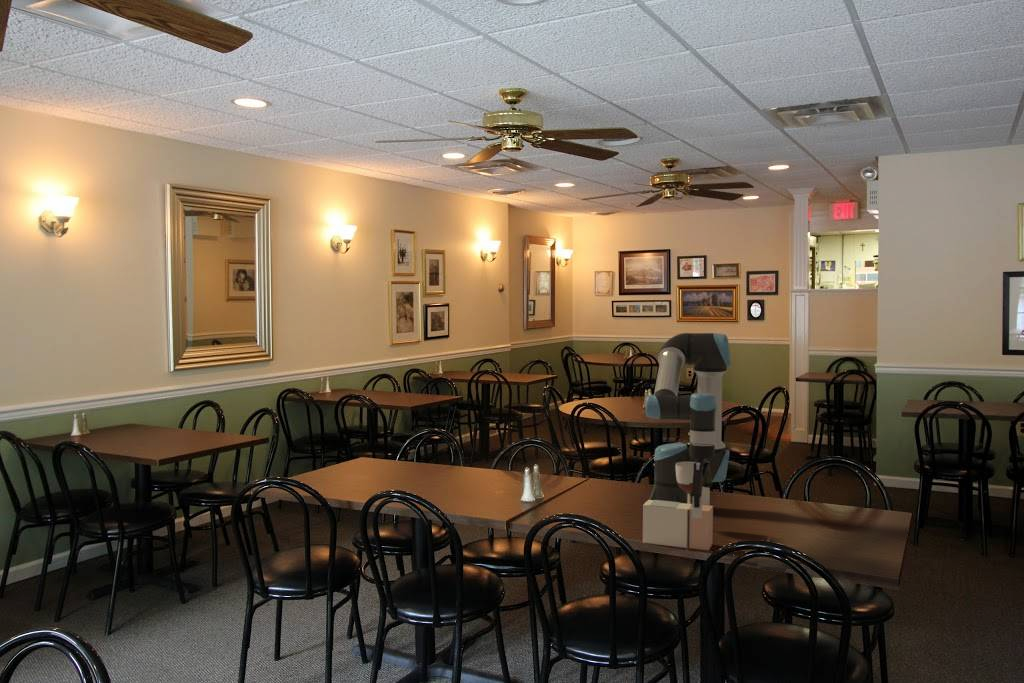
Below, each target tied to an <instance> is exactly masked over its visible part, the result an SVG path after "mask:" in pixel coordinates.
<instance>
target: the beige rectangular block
mask: <svg viewBox="0 0 1024 683" xmlns="http://www.w3.org/2000/svg"><path fill="white" fill-rule="evenodd" d="M692 504H693V503H691V504H686V503H680V502H671V501H661V500H649V499H648V500H647V501H645V503H643V505H642V543H643V544H652V545H661V546H667V547H668V546H669V547H676V548H684V549H687V548H688V547H689V509H690V508H691V506H692Z"/></svg>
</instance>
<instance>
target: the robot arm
mask: <svg viewBox="0 0 1024 683" xmlns="http://www.w3.org/2000/svg"><path fill="white" fill-rule="evenodd" d="M730 351H731V350H730V344H729V338H728V336H727V334H724V333H717V332H716V333H715V332H708V333H707V332H697V333H696V332H695V333H694V332H693V333H692V332H691V333H690V332H682V333H679V334H676V335H674V336H672V337H670V338H669V339H667V340H666V342H664V343H663V344H662V346H661V348H660V349H659V351H658V354H657V362H658V365H659V366H658V371H657V376H656V382H655V387H654V393H653V394H649V395H647V396H646V398H645V405H644V406H645V407H644V408H645V409H644V410H645V416H646V417H647V418H649V419H656V420H681V421H689V425H690V426H689V432H688V433H687V435H688V436H689V442H690V444H689V447H688V446H687V444H686V443H685V442H684V443H680V442H677V443H675V442H674V443H665V444H662V445H658V446H657V447H656V448H655V449H654V458H653V460H654V469H653V470H654V471H653V472H654V478H653V480H654V481H653V482H654V483H653V488H652V491H651V493H650V497H649V499H648V500H661V501H671V502H680V503H686V504H688V493H687V492H685V491H684V490H682V489H681V488H680V487H679V485H678V483H677V478H676V463H678V462H696V463H694V472H693V482H692V492H691V493H690V497H692V502H691V500H690V504H692V518H700V519H701V518H702V505H709V506H710V499H711V498H710V497H711V496H710V495H711V493H710V492H711V488H713V483H715V482H717V483H721V482H724V481H725V480H726V477H727V473H728V467H729V466H728V465H729V459H730V450H729V449H726V443H724V442H723V441H722V426H723V425H722V420H723V419H722V416H723V415H722V414H723V413H722V412H723V411H722V409H723V375H724V374H725V373H727V370H728V367H730V366H731V365H732V362H731V361H732V359H731V352H730ZM684 366H693V372H694V373H695V374H696V376H697V392H693V393H692V394H691V395H690V396H687V395H686V396H682V395H678V394H679V387H680V379H681V372H682V368H683V367H684Z"/></svg>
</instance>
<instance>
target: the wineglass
mask: <svg viewBox="0 0 1024 683" xmlns="http://www.w3.org/2000/svg"><path fill="white" fill-rule="evenodd" d="M694 463H696V462H678V463H676V478H677V483H678V485H679V487H680V488H681V489H682V490H684V491H685V492H687V493H688V504H690V501H691V496H690V493H691V492H692V482H693V472H694Z"/></svg>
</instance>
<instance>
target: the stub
mask: <svg viewBox="0 0 1024 683" xmlns="http://www.w3.org/2000/svg"><path fill="white" fill-rule="evenodd" d="M713 518H714V506H713V505H710V504H709V505H702V518H701V519H700V518H692V506H691V508H690V509H689V549H695V550H701V551H710V549H711V547H712V545H713V533H714V532H713V531H714V530H713V528H714V526H713V522H714V521H713V520H714V519H713Z"/></svg>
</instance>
